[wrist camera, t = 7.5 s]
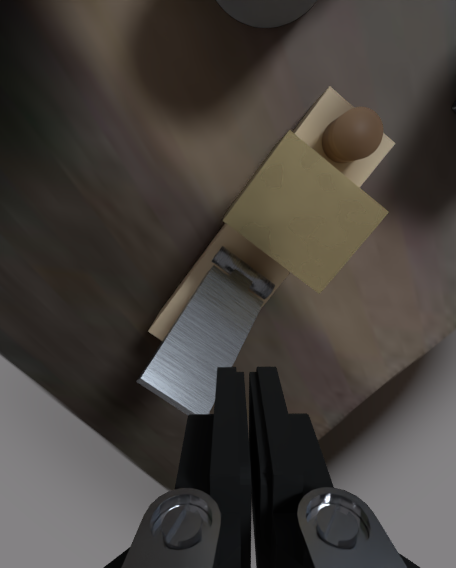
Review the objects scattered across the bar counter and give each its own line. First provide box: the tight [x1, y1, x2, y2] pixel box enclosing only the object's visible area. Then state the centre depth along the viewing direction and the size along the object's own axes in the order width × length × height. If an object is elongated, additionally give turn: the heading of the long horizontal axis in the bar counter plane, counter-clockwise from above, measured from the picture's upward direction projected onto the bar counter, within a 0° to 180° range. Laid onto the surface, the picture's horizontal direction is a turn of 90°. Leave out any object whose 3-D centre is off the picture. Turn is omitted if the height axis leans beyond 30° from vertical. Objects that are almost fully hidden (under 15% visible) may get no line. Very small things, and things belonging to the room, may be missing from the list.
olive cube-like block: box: [223, 130, 389, 294], centre depth 23 cm, size 7×6×6 cm
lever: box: [136, 246, 275, 415], centre depth 24 cm, size 5×1×11 cm
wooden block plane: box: [148, 86, 395, 341], centre depth 28 cm, size 6×22×8 cm, turn 143°
